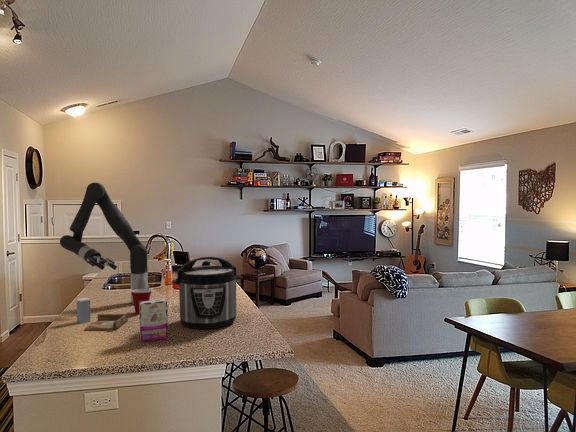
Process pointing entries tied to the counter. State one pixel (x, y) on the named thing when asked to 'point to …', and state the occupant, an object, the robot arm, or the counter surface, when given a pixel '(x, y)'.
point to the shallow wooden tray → (108, 322)
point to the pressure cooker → (207, 293)
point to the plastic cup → (140, 297)
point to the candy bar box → (153, 320)
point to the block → (83, 310)
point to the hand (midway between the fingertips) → (109, 268)
